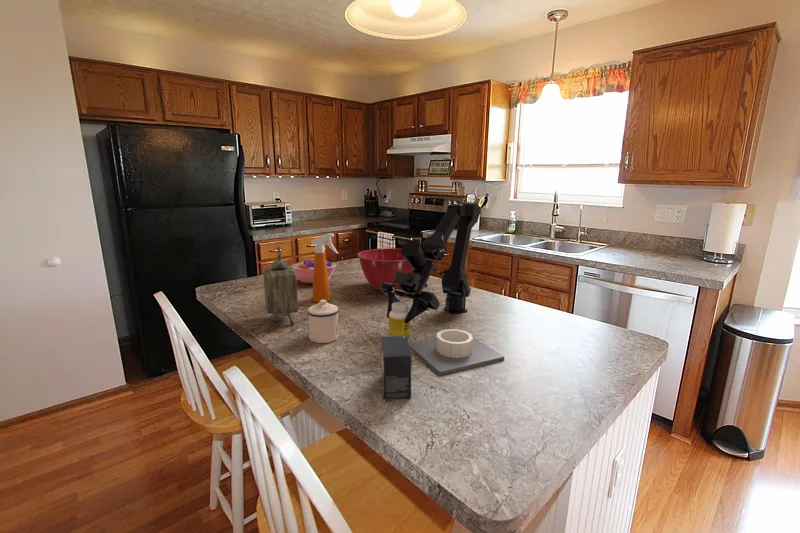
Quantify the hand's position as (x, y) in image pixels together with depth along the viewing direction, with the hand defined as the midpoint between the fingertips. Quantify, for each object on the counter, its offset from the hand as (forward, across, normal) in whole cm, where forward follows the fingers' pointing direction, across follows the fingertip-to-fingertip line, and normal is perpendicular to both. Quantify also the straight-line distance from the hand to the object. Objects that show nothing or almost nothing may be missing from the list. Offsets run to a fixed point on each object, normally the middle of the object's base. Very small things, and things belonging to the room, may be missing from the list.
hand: (396, 320), depth 111 cm
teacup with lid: (+13, -20, -3) cm, 24 cm away
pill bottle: (+4, 0, +6) cm, 7 cm away
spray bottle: (-4, -45, +14) cm, 47 cm away
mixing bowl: (-25, -36, +34) cm, 55 cm away
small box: (+19, +15, -9) cm, 26 cm away
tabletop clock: (+13, -40, -3) cm, 42 cm away
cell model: (-14, -68, +24) cm, 73 cm away
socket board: (+2, +17, +8) cm, 19 cm away
